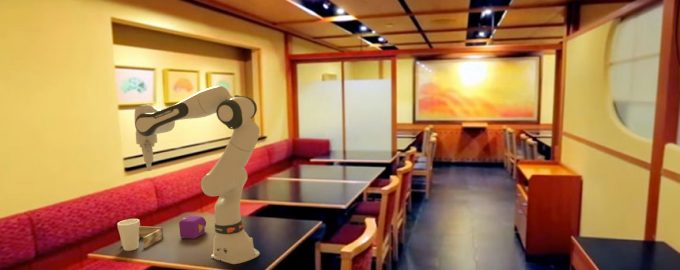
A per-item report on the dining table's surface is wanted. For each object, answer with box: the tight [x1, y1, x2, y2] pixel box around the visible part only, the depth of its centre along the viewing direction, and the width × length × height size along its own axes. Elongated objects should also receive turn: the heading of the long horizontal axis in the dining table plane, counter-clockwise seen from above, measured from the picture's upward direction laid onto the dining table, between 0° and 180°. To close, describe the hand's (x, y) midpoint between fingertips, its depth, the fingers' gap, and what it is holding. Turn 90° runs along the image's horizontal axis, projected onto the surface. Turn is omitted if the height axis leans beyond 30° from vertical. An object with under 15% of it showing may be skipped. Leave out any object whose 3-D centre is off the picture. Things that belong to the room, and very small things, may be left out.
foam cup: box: [117, 218, 141, 252], centre depth 199 cm, size 10×9×13 cm
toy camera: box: [178, 215, 207, 240], centre depth 215 cm, size 11×14×10 cm
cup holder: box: [119, 225, 164, 249], centre depth 208 cm, size 13×14×6 cm
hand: (148, 168), depth 195 cm, fingers open, 8 cm apart
